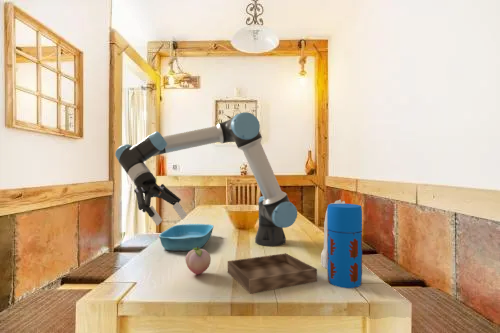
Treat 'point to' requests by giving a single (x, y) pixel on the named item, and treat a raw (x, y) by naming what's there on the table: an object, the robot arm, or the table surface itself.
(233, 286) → the table surface
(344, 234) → the thermos
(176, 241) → the casserole dish
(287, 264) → the walnut tray
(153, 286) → the table surface
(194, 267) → the decorative fruit
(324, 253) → the decorative vase
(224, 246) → the table surface
